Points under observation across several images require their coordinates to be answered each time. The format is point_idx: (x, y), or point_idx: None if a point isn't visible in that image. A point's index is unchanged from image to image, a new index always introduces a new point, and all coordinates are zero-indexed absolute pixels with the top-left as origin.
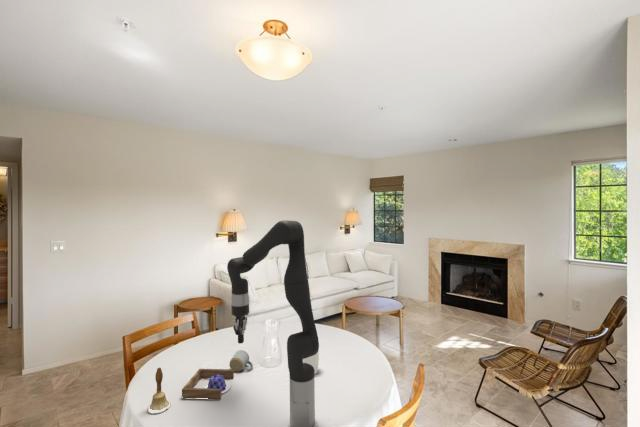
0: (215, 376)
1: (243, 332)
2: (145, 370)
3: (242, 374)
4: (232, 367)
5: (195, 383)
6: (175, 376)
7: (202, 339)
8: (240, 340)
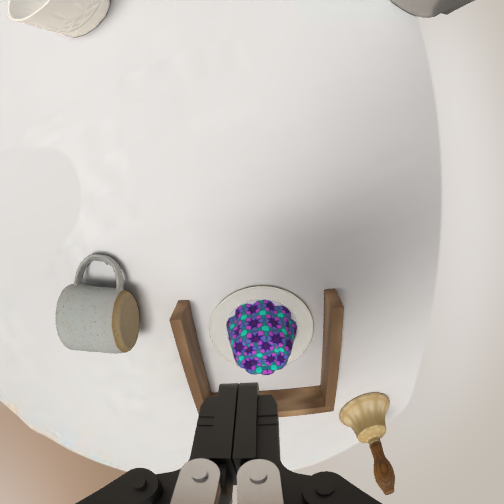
0: (248, 363)
1: (221, 476)
2: None
3: (145, 276)
4: (136, 328)
5: None
6: None
7: (42, 426)
8: (273, 419)
